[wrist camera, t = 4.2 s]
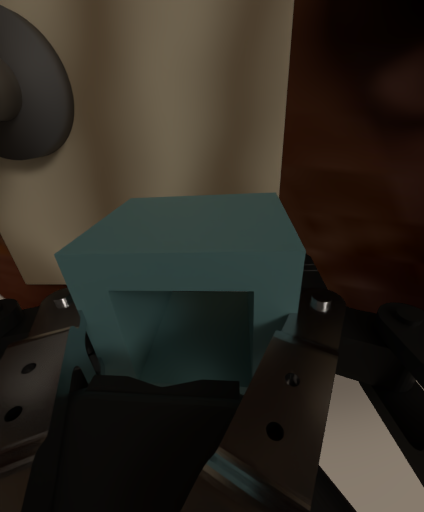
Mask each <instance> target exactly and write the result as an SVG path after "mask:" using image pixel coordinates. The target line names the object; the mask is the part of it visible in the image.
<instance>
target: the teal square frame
mask: <svg viewBox="0 0 424 512" xmlns="http://www.w3.org/2000/svg"><path fill="white" fill-rule="evenodd" d="M305 253H306V250H305V248H304V247H303V245H302V243H301V241H300V239H299V237H298V235H297V233H296V231H295V229H294V227H293V225H292V223H291V221H290V219H289V217H288V215H287V213H286V211H285V209H284V208H283V206H282V204H281V202H280V200H279V198H278V196H277V194H276V192H273V193H248V194H223V195H198V196H173V197H148V198H130V199H129V200H128V201H126V202H125V203H124V204H122V205H121V206H119V207H118V208H117V209H115V210H114V211H113V212H111V213H110V214H108V215H107V216H106V217H104V218H103V219H102V220H100V221H99V222H98V223H96V224H95V225H93V226H92V227H91V228H89V229H88V230H87V231H85V232H84V233H82V234H81V235H80V236H78V237H77V238H76V239H74V240H73V241H72V242H70V243H69V244H67V245H66V246H65V247H63V248H62V249H61V250H59V251H58V252H56V253H55V254H54V256H55V259H56V261H57V263H58V266H59V268H60V270H61V273H62V275H63V277H64V280H65V282H66V285H67V287H68V289H69V292H70V294H71V296H72V299H73V301H74V303H75V306H76V308H77V310H82V311H83V314H84V316H85V319H86V321H87V325H86V332H87V334H88V337H89V339H90V341H91V344H92V346H93V348H94V351H95V353H96V356H97V357H101V358H102V360H103V363H104V365H105V375H114V376H129V377H132V378H135V379H138V380H141V381H144V382H147V383H150V384H153V385H156V386H160V387H166V386H171V385H176V384H181V383H186V382H191V381H196V380H202V379H204V380H226V381H239V382H240V394H242V395H244V394H245V392H246V390H247V388H248V386H249V384H250V382H251V380H252V378H253V376H254V373H255V371H256V369H257V367H258V365H259V363H260V361H261V359H262V357H263V355H264V353H265V351H266V349H267V347H268V345H269V343H270V341H271V339H272V336H273V335H274V333H275V331H276V330H279V331H282V329H283V327H284V325H285V322H286V320H287V318H288V316H289V314H290V313H298V306H299V299H300V291H301V284H302V276H303V269H304V261H305ZM172 291H247V292H172Z"/></svg>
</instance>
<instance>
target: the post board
mask: <svg viewBox="0 0 424 512" xmlns="http://www.w3.org/2000/svg"><path fill="white" fill-rule="evenodd" d="M293 8H294V0H0V233H1V235H2V237H3V239H4V241H5V243H6V245H7V247H8V249H9V251H10V253H11V255H12V257H13V259H14V261H15V263H16V265H17V267H18V269H19V271H20V273H21V275H22V277H23V279H24V281H25V283H26V284H66V282H65V280H64V277H63V275H62V273H61V270H60V268H59V266H58V263H57V261H56V259H55V256H54V254H55V253H56V252H58V251H59V250H61V249H62V248H63V247H65V246H66V245H67V244H69V243H70V242H72V241H73V240H74V239H76V238H77V237H78V236H80V235H81V234H82V233H84V232H85V231H87V230H88V229H89V228H91V227H92V226H93V225H95V224H96V223H98V222H99V221H100V220H102V219H103V218H104V217H106V216H107V215H108V214H110V213H111V212H113V211H114V210H115V209H117V208H118V207H119V206H121V205H122V204H124V203H125V202H126V201H128V200H129V199H130V198H148V197H173V196H198V195H223V194H248V193H273V192H276V194H277V196H278V198H279V188H280V175H281V162H282V149H283V136H284V124H285V111H286V98H287V85H288V72H289V59H290V46H291V34H292V21H293Z"/></svg>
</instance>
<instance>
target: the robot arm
mask: <svg viewBox="0 0 424 512" xmlns="http://www.w3.org/2000/svg"><path fill="white" fill-rule="evenodd" d="M86 325H87V321H86V319H85V316H84V314H83V311H82V310H77V308H76V306H75V303H74V301H73V299H72V296H71V294H70V292H69V289H68V288H64V289H61V290H58V291H56V292H54V293H52V294H50V295H49V296H47V297H46V298H45V299H44V300H43V301H42V303H41V305H40V306H39V307H34V308H29V309H24V310H22V309H21V308H20V306H19V304H18V302H17V301H16V300H15V299H2V300H0V512H356V510H355V509H354V508H353V507H352V505H351V504H350V503H349V502H348V500H347V499H346V498H345V497H344V495H343V494H342V493H341V492H340V491H339V489H338V488H337V487H336V486H335V484H334V483H333V482H332V481H331V480H330V478H329V477H328V476H327V474H326V473H325V472H324V471H323V470H322V468H321V467H320V466H319V459H320V454H321V448H322V442H323V437H324V432H325V426H326V421H327V415H328V409H329V404H330V399H331V393H332V388H333V382H334V377H335V374H337V375H340V376H344V377H347V378H350V379H353V380H356V381H359V383H360V385H361V387H362V388H363V390H364V392H365V393H366V395H367V396H368V398H369V400H370V401H371V403H372V404H373V406H374V408H375V409H376V411H377V413H378V414H379V416H380V417H381V419H382V421H383V422H384V424H385V425H386V427H387V429H388V430H389V432H390V434H391V435H392V437H393V438H394V440H395V442H396V443H397V445H398V446H399V448H400V449H401V451H402V453H403V454H404V456H405V458H406V459H407V461H408V463H409V464H410V466H411V467H412V469H413V471H414V472H415V474H416V476H417V477H418V479H419V480H420V482H421V484H422V485H423V487H424V390H423V389H424V311H423V310H421V309H419V308H416V307H414V306H411V305H407V304H403V303H386V304H383V305H381V306H380V307H379V309H378V312H377V314H375V313H370V312H365V311H360V310H356V309H352V308H349V307H347V306H346V303H345V301H344V299H343V298H342V297H341V296H340V295H338V294H337V293H335V292H333V291H331V290H328V289H327V287H326V285H325V284H324V282H323V280H322V278H321V276H320V274H319V272H318V271H317V268H316V266H315V265H314V263H313V261H312V259H311V257H310V256H309V255H307V254H306V253H305V261H304V269H303V276H302V284H301V291H300V299H299V306H298V313H290V314H289V316H288V318H287V320H286V322H285V325H284V327H283V329H282V331H279V330H276V331H275V333H274V335H273V336H272V339H271V341H270V343H269V345H268V347H267V349H266V351H265V353H264V355H263V357H262V359H261V361H260V363H259V365H258V367H257V369H256V371H255V373H254V376H253V378H252V380H251V382H250V384H249V386H248V388H247V390H246V392H245V394H244V395H242V394H240V382H239V381H226V380H204V379H202V380H196V381H191V382H186V383H181V384H176V385H171V386H166V387H160V386H156V385H153V384H150V383H147V382H144V381H141V380H138V379H135V378H132V377H129V376H114V375H105V365H104V363H103V360H102V358H101V357H97V356H96V353H95V351H94V348H93V346H92V344H91V341H90V339H89V337H88V334H87V332H86ZM416 380H417V381H418V383H419V384H420V385H421V386H422V387H423V389H422V388H421V387H420V385H419V384H418V383H417V382H416Z"/></svg>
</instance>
